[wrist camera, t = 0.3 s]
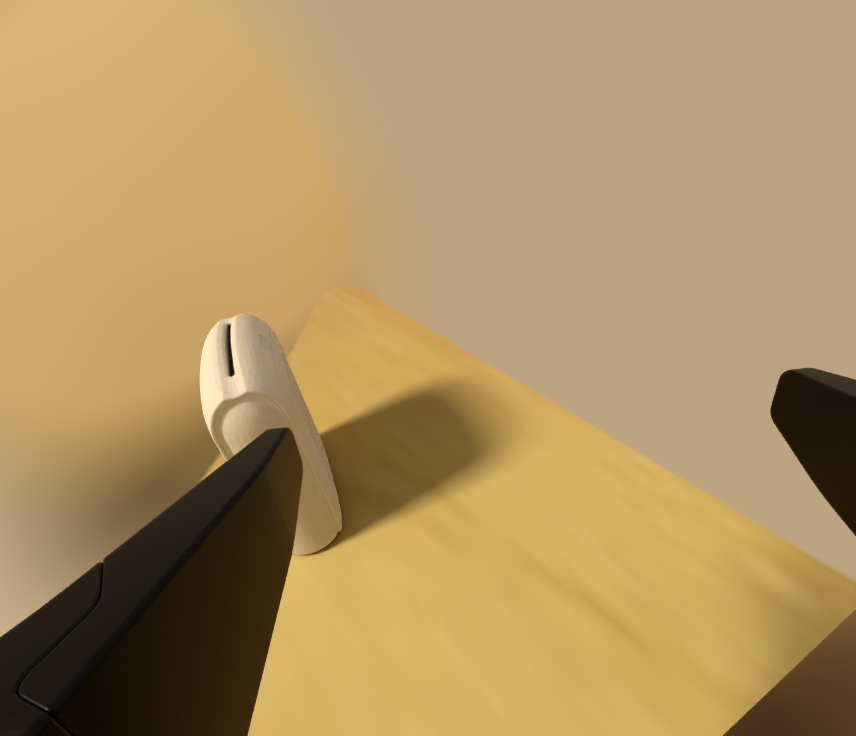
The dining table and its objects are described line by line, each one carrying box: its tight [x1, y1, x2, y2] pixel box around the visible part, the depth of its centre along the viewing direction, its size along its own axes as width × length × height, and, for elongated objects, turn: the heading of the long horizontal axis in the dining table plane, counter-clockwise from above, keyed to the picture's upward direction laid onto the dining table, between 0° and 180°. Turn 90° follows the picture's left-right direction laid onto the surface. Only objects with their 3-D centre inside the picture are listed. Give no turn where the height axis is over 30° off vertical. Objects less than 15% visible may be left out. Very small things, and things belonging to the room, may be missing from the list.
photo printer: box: [200, 313, 342, 555], centre depth 27 cm, size 10×4×12 cm, turn 21°
